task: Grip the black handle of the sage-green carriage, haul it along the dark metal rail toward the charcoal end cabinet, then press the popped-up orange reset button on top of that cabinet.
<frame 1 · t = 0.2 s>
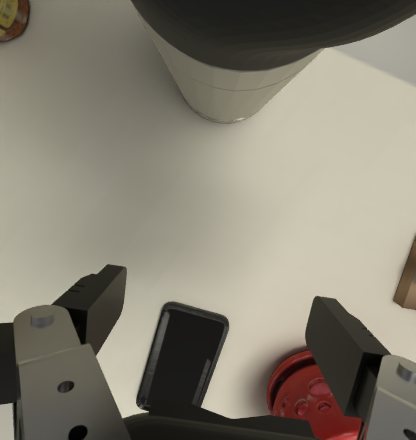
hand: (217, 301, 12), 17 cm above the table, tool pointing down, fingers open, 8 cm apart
phone: (182, 358, 33), on the table
plant pot: (312, 379, 33), on the table
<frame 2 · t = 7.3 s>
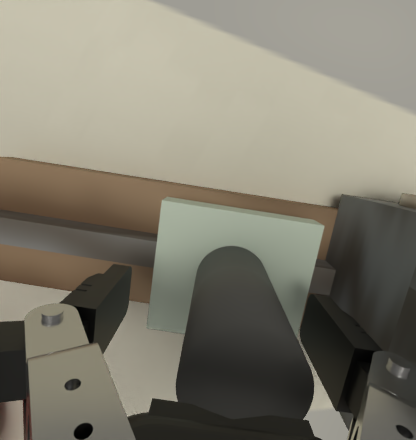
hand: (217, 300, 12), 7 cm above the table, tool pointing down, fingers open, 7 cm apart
carriage: (233, 298, 12), point 7 cm above the table, slide at 9.0 cm
rail: (213, 247, 19), on the table
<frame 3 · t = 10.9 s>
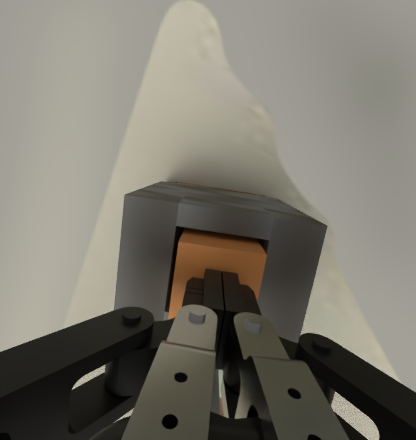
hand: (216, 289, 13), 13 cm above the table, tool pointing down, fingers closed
carriage: (194, 369, 21), point 7 cm above the table, slide at 9.0 cm
reset button: (215, 276, 14), point 11 cm above the table, slide at 0.2 cm, touching gripper
rail: (197, 327, 27), on the table
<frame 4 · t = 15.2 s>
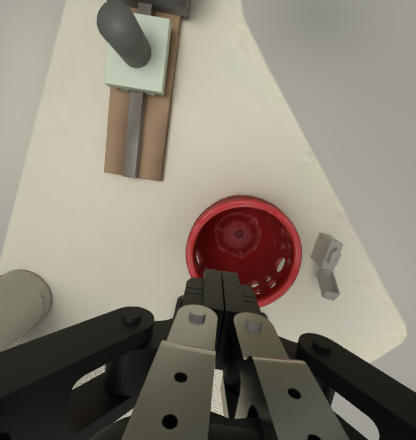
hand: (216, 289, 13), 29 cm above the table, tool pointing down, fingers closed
carriage: (131, 44, 31), point 7 cm above the table, slide at 9.0 cm
plant pot: (235, 231, 42), on the table
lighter: (316, 255, 43), on the table
rail: (145, 73, 38), on the table
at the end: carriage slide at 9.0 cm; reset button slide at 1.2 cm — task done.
